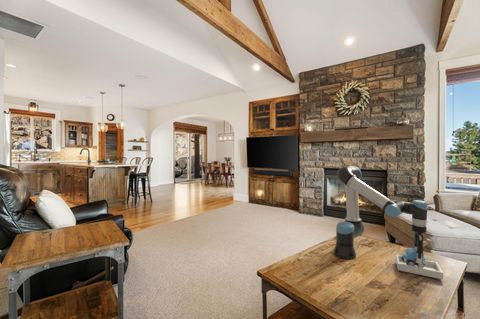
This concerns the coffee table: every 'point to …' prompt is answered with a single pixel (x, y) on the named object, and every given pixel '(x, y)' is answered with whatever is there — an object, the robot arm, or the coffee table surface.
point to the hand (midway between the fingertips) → (417, 259)
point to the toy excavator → (411, 255)
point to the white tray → (429, 268)
